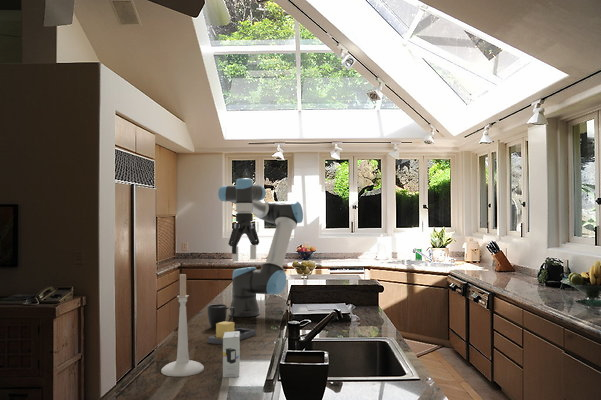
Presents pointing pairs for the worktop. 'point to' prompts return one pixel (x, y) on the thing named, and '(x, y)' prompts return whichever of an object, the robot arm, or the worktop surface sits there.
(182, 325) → the candlestick
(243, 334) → the frame with square openings
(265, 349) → the worktop surface
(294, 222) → the robot arm
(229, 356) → the ink box
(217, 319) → the mug
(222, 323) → the yellow block
